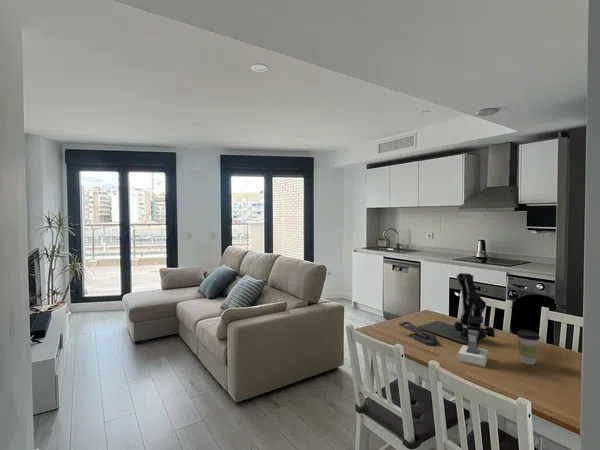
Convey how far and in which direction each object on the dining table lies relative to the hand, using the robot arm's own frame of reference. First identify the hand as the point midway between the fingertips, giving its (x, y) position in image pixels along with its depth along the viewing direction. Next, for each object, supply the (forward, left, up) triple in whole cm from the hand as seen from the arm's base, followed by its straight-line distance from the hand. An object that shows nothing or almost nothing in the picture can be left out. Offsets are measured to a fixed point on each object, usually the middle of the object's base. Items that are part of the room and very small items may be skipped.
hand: (472, 344), depth 175 cm
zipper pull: (+7, -36, -9) cm, 38 cm away
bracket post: (-1, -1, -7) cm, 7 cm away
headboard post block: (-1, -1, -9) cm, 9 cm away
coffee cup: (-25, +10, -9) cm, 28 cm away
